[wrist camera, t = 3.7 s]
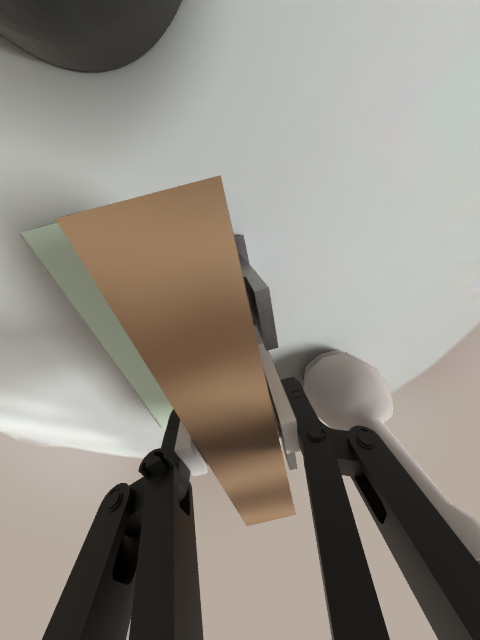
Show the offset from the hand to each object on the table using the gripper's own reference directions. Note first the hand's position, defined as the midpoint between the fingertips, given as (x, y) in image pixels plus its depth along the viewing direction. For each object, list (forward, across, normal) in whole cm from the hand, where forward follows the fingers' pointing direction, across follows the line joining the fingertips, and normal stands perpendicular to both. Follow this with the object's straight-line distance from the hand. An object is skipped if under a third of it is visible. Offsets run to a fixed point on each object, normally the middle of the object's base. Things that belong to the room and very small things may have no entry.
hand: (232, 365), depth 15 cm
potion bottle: (+6, +11, -10) cm, 16 cm away
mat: (+6, -9, 0) cm, 11 cm away
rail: (-2, 0, 0) cm, 2 cm away
